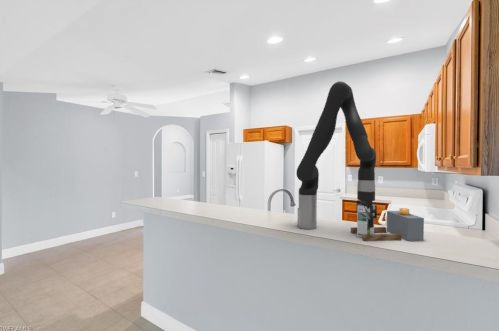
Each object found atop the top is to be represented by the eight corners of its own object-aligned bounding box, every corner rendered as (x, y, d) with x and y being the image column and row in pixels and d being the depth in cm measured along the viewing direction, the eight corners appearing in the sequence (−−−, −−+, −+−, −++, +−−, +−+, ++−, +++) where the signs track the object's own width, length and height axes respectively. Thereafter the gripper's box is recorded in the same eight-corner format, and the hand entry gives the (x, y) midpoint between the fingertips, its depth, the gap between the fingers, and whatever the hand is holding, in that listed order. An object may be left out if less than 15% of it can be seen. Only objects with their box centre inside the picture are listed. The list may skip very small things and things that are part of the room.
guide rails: (364, 241, 116) (364, 235, 116) (350, 232, 129) (350, 227, 129) (401, 240, 117) (401, 234, 117) (384, 231, 130) (384, 226, 130)
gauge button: (402, 218, 121) (402, 209, 121) (397, 216, 125) (397, 208, 125) (411, 218, 122) (411, 209, 121) (405, 216, 126) (405, 208, 125)
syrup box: (356, 236, 122) (356, 205, 122) (361, 233, 127) (362, 203, 126) (369, 239, 118) (369, 206, 118) (374, 236, 122) (374, 205, 122)
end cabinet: (408, 241, 115) (408, 218, 115) (386, 231, 131) (386, 210, 131) (423, 240, 116) (423, 218, 116) (400, 230, 132) (400, 210, 132)
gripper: (351, 188, 129) (351, 221, 129) (366, 192, 114) (365, 229, 115) (366, 188, 129) (366, 221, 130) (382, 191, 115) (382, 229, 115)
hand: (365, 225), depth 122 cm, fingers closed on syrup box, 8 cm apart
